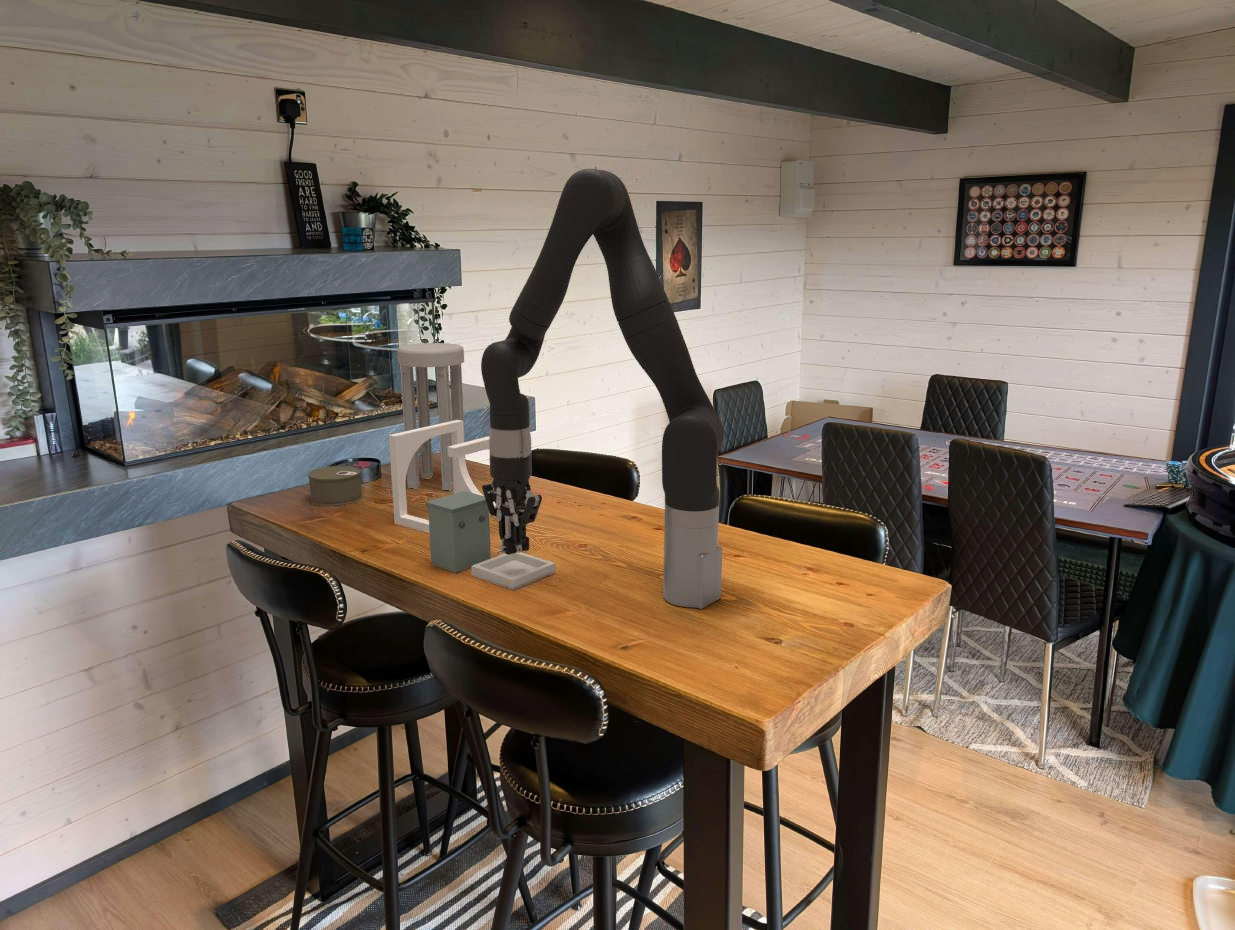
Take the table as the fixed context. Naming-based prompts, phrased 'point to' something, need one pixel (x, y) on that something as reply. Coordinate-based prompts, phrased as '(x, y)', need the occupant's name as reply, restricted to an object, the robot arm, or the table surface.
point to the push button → (511, 533)
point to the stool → (421, 359)
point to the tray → (513, 570)
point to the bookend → (406, 447)
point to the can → (335, 485)
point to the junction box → (459, 531)
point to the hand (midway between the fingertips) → (512, 541)
